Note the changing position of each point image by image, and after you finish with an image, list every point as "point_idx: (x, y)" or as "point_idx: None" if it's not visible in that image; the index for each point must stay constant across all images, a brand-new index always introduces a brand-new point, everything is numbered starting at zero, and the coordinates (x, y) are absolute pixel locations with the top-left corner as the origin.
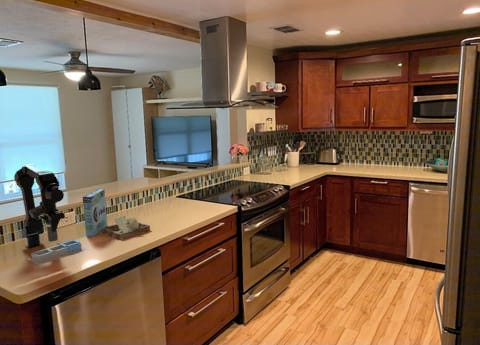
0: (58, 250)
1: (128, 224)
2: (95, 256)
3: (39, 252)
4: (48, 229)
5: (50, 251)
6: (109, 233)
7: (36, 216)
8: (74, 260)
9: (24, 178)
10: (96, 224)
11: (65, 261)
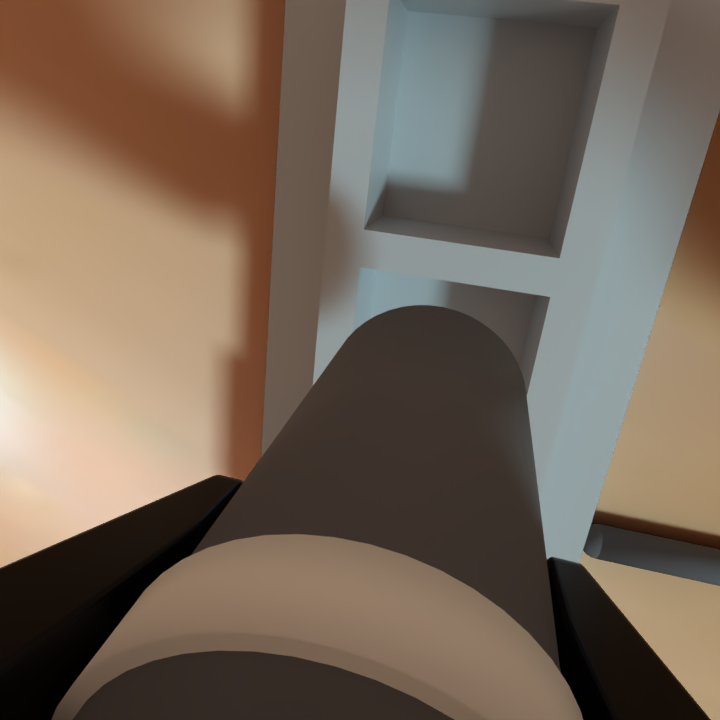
0: (319, 326)
1: None
2: (54, 495)
3: (591, 116)
4: (305, 465)
5: (392, 232)
6: None
7: None
8: (121, 332)
9: None
10: None
11: (177, 263)
